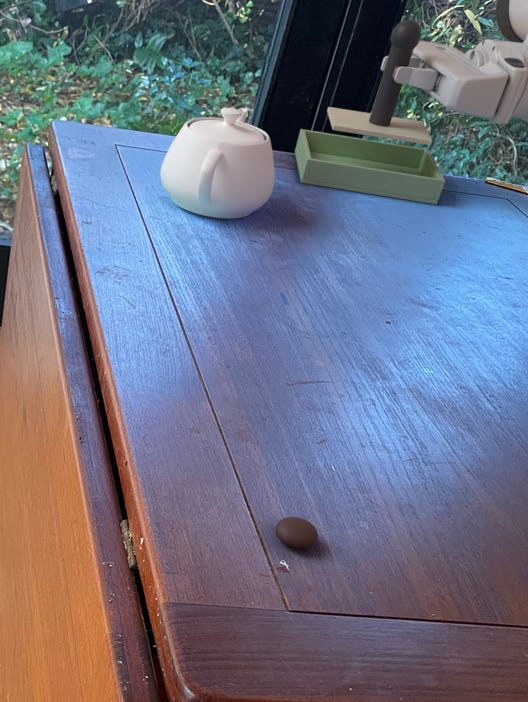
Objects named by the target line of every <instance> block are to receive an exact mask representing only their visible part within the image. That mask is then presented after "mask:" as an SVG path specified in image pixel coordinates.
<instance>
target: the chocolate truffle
mask: <svg viewBox="0 0 528 702" xmlns="http://www.w3.org/2000/svg"><path fill="white" fill-rule="evenodd" d="M275 535H276V537H277V538H278V540H279V541H280V542H282V543H283V544H284V545H286V546H287V547H291V548H295V549H305V548H309V547H311V546H313V545H315V544H316V542H317V541H318V535H319V534H318V530H317V529H316V527H315V526H314V525H313V524H312V523H311V522H310V521H308V520H306V519H304V518H303V517H298V516H297V517H296V516H288V517H284V518H282V519H280V520H279V521H278V522H277V523H276V525H275Z"/></svg>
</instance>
